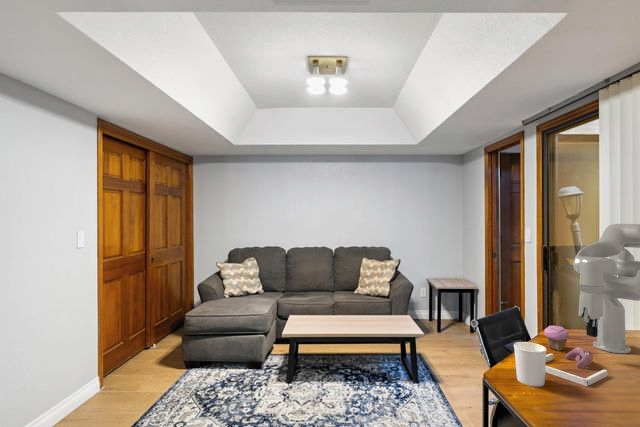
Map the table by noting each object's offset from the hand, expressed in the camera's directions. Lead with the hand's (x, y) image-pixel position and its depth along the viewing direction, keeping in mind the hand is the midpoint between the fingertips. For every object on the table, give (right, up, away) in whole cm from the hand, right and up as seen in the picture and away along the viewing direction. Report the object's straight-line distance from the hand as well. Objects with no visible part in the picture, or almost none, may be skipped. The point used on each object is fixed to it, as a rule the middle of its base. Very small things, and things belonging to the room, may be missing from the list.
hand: (592, 335), depth 141 cm
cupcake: (-6, -10, +12) cm, 17 cm away
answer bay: (-16, -10, -10) cm, 21 cm away
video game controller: (-8, -10, -3) cm, 13 cm away
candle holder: (-35, -10, -18) cm, 41 cm away
